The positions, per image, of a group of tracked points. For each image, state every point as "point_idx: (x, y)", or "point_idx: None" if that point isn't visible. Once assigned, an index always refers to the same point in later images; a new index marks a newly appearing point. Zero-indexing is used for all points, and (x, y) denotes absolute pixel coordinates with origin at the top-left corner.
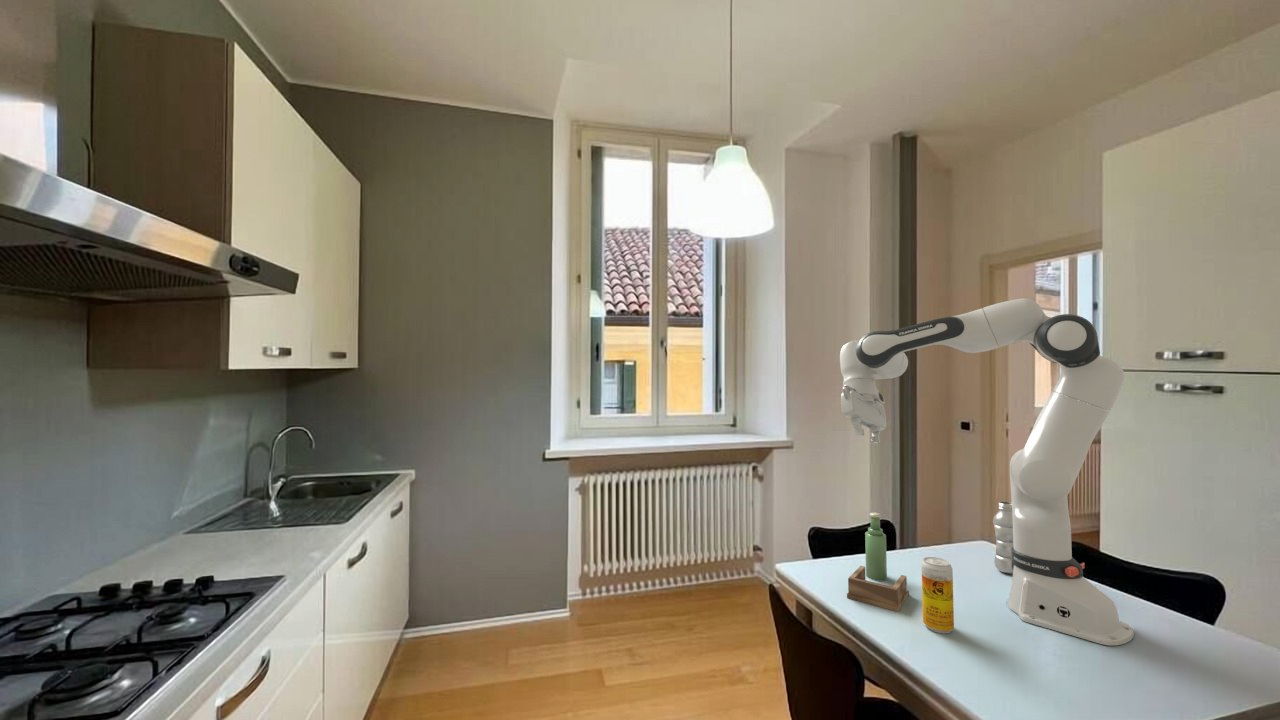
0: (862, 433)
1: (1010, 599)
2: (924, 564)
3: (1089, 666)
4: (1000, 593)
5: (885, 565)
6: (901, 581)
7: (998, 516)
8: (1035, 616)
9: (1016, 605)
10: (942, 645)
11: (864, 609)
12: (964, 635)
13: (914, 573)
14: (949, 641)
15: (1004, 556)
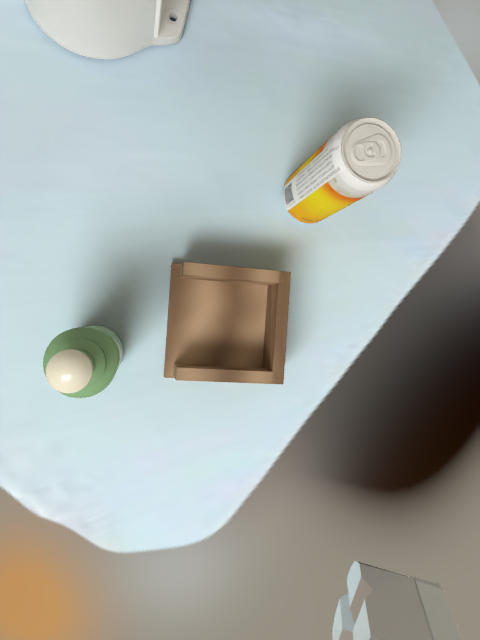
0: (414, 580)
1: (113, 43)
2: (386, 181)
3: None
4: (25, 64)
5: (100, 327)
6: (229, 268)
7: None
8: (164, 10)
9: (143, 36)
10: None
11: (306, 335)
12: (310, 154)
13: (3, 266)
14: None
15: None
